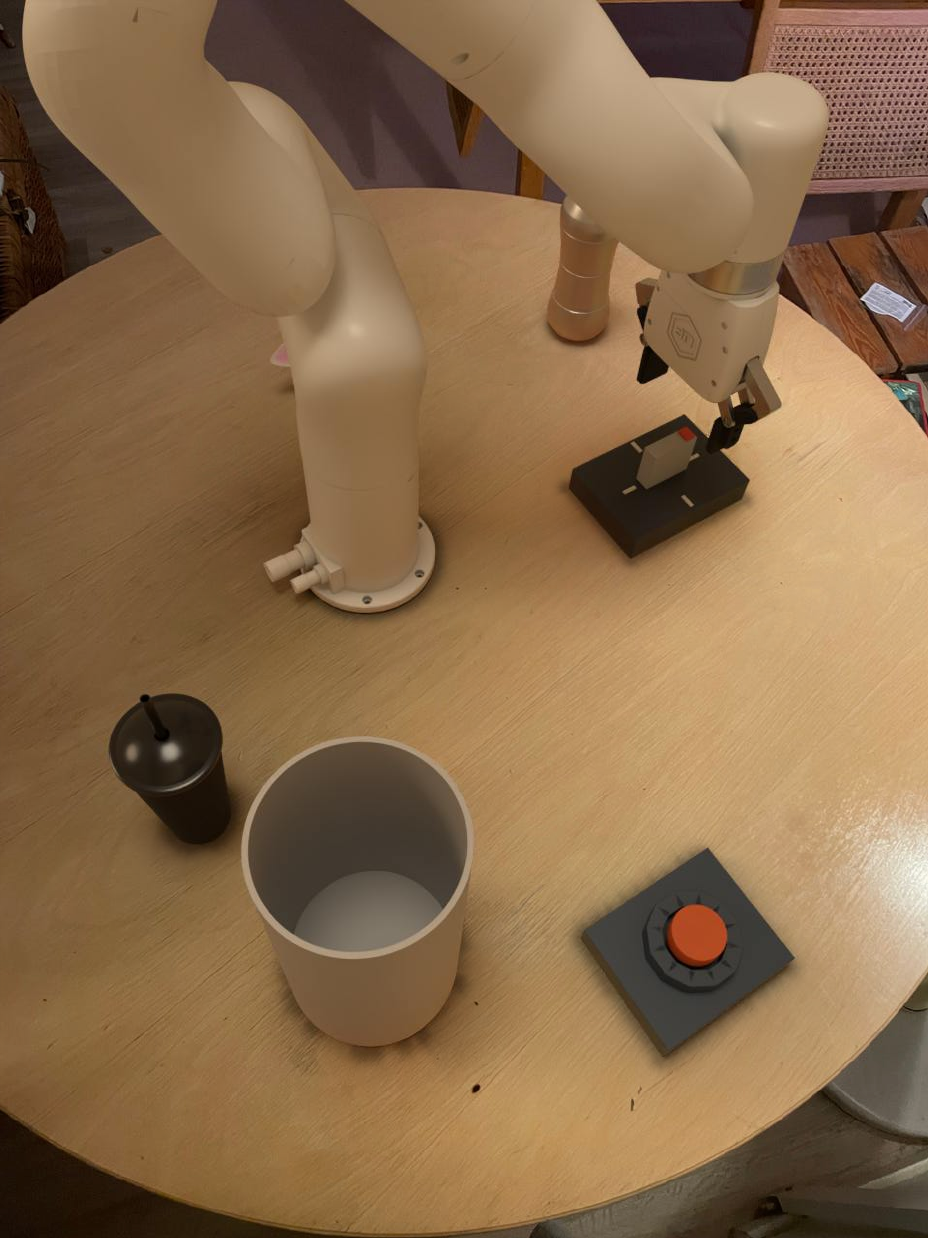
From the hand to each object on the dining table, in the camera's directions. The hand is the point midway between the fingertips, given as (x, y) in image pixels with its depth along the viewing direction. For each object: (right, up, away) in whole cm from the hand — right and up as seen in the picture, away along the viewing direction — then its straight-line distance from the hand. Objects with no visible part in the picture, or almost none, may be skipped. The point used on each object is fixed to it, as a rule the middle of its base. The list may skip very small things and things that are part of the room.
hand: (685, 410), depth 92 cm
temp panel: (-1, -6, +10) cm, 12 cm away
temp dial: (-1, -5, +7) cm, 9 cm away
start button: (-3, -42, -17) cm, 45 cm away
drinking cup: (-41, -34, -10) cm, 54 cm away
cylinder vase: (-26, -44, -15) cm, 53 cm away
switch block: (-3, -44, -14) cm, 46 cm away
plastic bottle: (-7, +13, +22) cm, 27 cm away
